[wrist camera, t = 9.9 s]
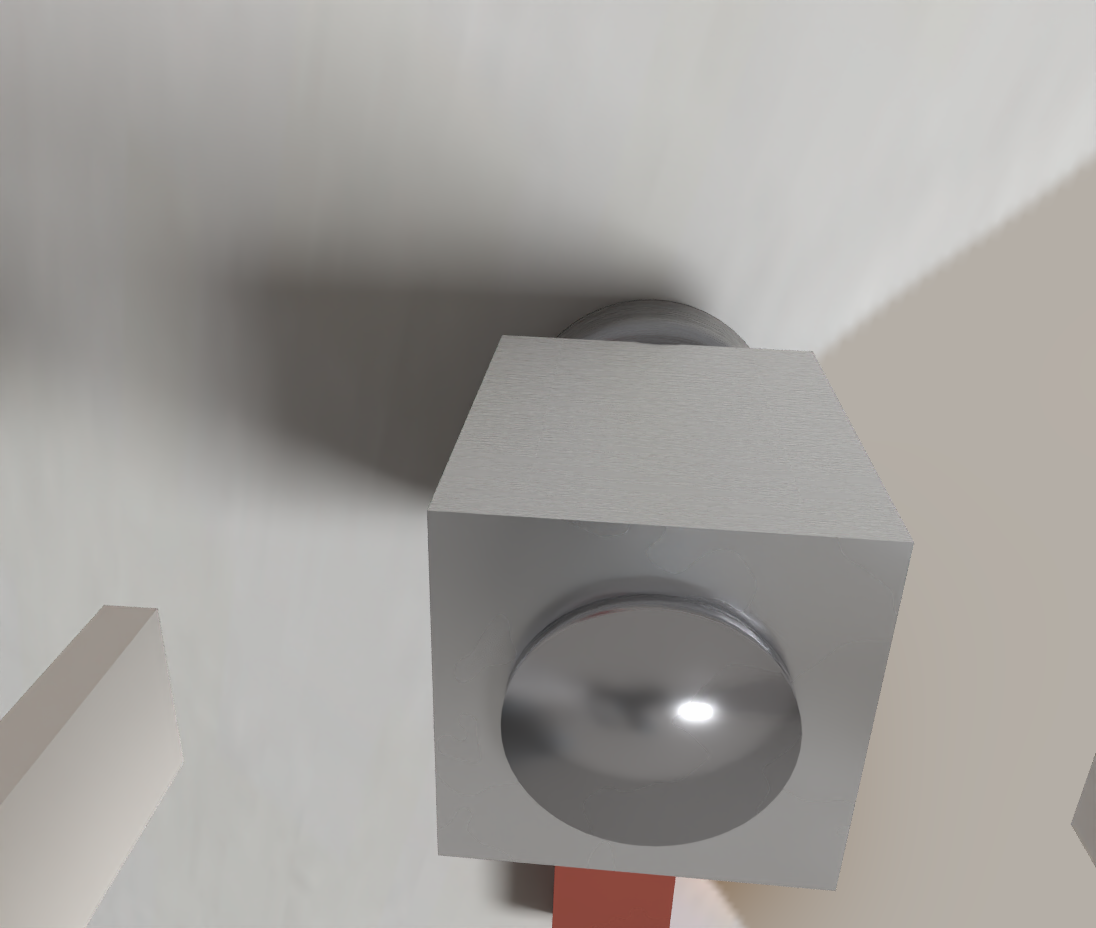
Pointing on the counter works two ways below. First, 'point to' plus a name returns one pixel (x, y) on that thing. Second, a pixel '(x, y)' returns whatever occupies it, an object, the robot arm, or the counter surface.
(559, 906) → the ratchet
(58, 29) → the counter surface
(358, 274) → the counter surface
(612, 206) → the counter surface
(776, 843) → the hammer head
